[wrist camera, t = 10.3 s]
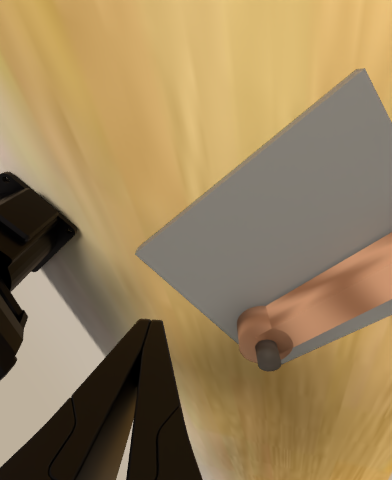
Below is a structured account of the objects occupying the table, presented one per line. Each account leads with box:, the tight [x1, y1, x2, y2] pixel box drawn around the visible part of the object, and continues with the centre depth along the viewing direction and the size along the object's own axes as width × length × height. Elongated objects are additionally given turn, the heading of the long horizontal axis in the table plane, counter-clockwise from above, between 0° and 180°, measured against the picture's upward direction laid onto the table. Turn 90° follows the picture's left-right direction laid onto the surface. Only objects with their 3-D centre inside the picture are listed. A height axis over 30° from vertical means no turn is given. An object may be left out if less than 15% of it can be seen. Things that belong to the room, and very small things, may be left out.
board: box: [135, 68, 392, 364], centre depth 22 cm, size 19×19×1 cm
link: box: [237, 232, 392, 371], centre depth 20 cm, size 18×4×4 cm, turn 133°
